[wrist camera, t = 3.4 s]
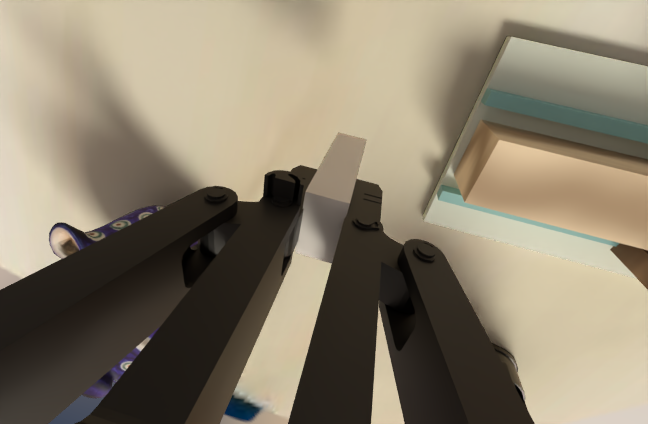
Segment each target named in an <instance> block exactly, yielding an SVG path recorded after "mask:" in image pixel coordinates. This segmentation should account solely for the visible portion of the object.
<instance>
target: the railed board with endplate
mask: <svg viewBox="0 0 648 424" xmlns="http://www.w3.org/2000/svg"><path fill="white" fill-rule="evenodd" d="M481 119H482V120H486V121H490V122H494V123H498V124H502V125H507V126H511V127H515V128H519V129H523V130H527V131H532V132H536V133H540V134H544V135H548V136H552V137H557V138H561V139H565V140H569V141H573V142H577V143H582V144H586V145H590V146H594V147H598V148H602V149H606V150H611V151H615V152H619V153H623V154H627V155H631V156H636V157H640V158H644V159H648V66H644V65H639V64H635V63H630V62H625V61H621V60H616V59H612V58H607V57H603V56H598V55H593V54H589V53H584V52H580V51H575V50H570V49H566V48H561V47H557V46H552V45H548V44H543V43H538V42H534V41H529V40H525V39H520V38H516V37H510V36H507V37H506V39H505V41H504V44H503V46H502V48H501V50H500V52H499V54H498V56H497V59H496V61H495V63H494V65H493V67H492V69H491V71H490V73H489V76H488V78H487V80H486V82H485V84H484V86H483V88H482V90H481V93H480V95H479V97H478V99H477V101H476V103H475V105H474V108H473V110H472V112H471V114H470V116H469V118H468V120H467V122H466V125H465V127H464V129H463V131H462V133H461V135H460V137H459V139H458V142H457V144H456V146H455V148H454V150H453V152H452V154H451V157H450V159H449V161H448V163H447V165H446V167H445V169H444V171H443V174H442V176H441V178H440V180H439V182H438V184H437V186H436V189H435V191H434V193H433V195H432V197H431V199H430V201H429V203H428V206H427V208H426V210H425V212H424V214H423V222H427V223H431V224H434V225H438V226H442V227H446V228H449V229H453V230H457V231H460V232H464V233H468V234H472V235H475V236H479V237H483V238H486V239H490V240H494V241H498V242H501V243H505V244H509V245H512V246H516V247H520V248H524V249H527V250H531V251H535V252H539V253H542V254H546V255H550V256H553V257H557V258H561V259H565V260H568V261H572V262H576V263H579V264H583V265H587V266H591V267H594V268H598V269H602V270H606V271H609V272H613V273H617V274H620V275H624V276H628V277H632V278H635V279H637V278H636V277H635V276H634V275H633V273H632V272H631V271H630V270H629V269H628V268H627V267H626V266H625V265H624V264H623V263H622V262H621V261H620V260H619V259H618V258H617V257H616V256H615V255H614V253H613V252H612V251H611V250H610V249H611V248H612V247H613V246H615V247H616V246H617V245H618V244H619V243H618V242H614V241H610V240H606V239H602V238H598V237H595V236H591V235H587V234H583V233H579V232H575V231H572V230H568V229H564V228H560V227H556V226H553V225H549V224H545V223H541V222H537V221H533V220H530V219H526V218H522V217H518V216H514V215H510V214H507V213H503V212H499V211H495V210H491V209H488V208H484V207H480V206H476V205H472V204H468V203H465V202H464V200H463V197H462V195H461V192H460V190H459V187H458V184H457V182H456V179H455V177H454V172H455V170H456V168H457V166H458V164H459V162H460V160H461V158H462V156H463V154H464V152H465V150H466V148H467V146H468V144H469V142H470V140H471V138H472V136H473V134H474V132H475V130H476V128H477V126H478V124H479V122H480V120H481Z"/></svg>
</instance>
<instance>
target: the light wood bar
mask: <svg viewBox="0 0 648 424" xmlns="http://www.w3.org/2000/svg"><path fill="white" fill-rule="evenodd" d="M454 177H455V179H456V182H457V184H458V187H459V190H460V192H461V195H462V197H463V200H464V202H465V203H468V204H472V205H476V206H480V207H484V208H488V209H491V210H495V211H499V212H503V213H507V214H510V215H514V216H518V217H522V218H526V219H530V220H533V221H537V222H541V223H545V224H549V225H553V226H556V227H560V228H564V229H568V230H572V231H575V232H579V233H583V234H587V235H591V236H595V237H598V238H602V239H606V240H610V241H614V242H618V243H621V244H625V245H629V246H633V247H637V248H641V249H644V250H648V159H644V158H640V157H636V156H631V155H627V154H623V153H619V152H615V151H611V150H606V149H602V148H598V147H594V146H590V145H586V144H582V143H577V142H573V141H569V140H565V139H561V138H557V137H552V136H548V135H544V134H540V133H536V132H532V131H527V130H523V129H519V128H515V127H511V126H507V125H502V124H498V123H494V122H490V121H486V120H482V119H481V120H480V122H479V124H478V126H477V128H476V130H475V132H474V134H473V136H472V138H471V140H470V142H469V144H468V146H467V148H466V150H465V152H464V154H463V156H462V158H461V160H460V162H459V164H458V166H457V168H456V170H455V172H454Z"/></svg>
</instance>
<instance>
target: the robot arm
mask: <svg viewBox="0 0 648 424" xmlns="http://www.w3.org/2000/svg"><path fill="white" fill-rule="evenodd" d="M365 144H366V139H362V138H358V137H354V136H350V135H346V134H342V133H338V134H337V136H336V138H335V139H334V141H333V143H332V145H331V147H330V148H329V150H328V152H327V154H326V156H325V157H324V159H323V161H322V163H321V165H320V166H319V168H318V170H317V169H313V168H309V167H305V166H301V165H300V166H298V167H296V168H293V169H292V170H291V172H289V171H283V170H279V171H272V172H268V173H267V174H265V179H264V193H263V197H262V198H261V200H260V201H259V202H243V201H238V196H237V194H236V192H234V191H233V190H231V189H229V188H226V187H221V186H220V187H219V186H213V187H206V188H203V189H200V190H198V191H196V192H194V193H192V194H190V195H188V196H186V197H185V198H183V199H181V200H179V201H177V202H175V203H173V204H171V205H169V206H167V207H165V208H163V209H161V210H159V211H157V212H155V213H153V214H151V215H149V216H147V217H145V218H143V219H141V220H139V221H137V222H135V223H133V224H131V225H129V226H127V227H125V228H123V229H121V230H119V231H117V232H115V233H113V234H111V235H109V236H107V237H105V238H103V239H101V240H99V241H97V242H95V243H93V244H91V245H89V246H87V247H85V248H83V249H81V250H79V251H77V252H75V253H73V254H71V255H69V256H67V257H65V258H63V259H61V260H59V261H57V262H55V263H53V264H51V265H49V266H47V267H45V268H43V269H41V270H39V271H37V272H35V273H33V274H31V275H29V276H27V277H25V278H23V279H21V280H19V281H18V282H16V283H14V284H11V285H9V286H7V287H5V288H3V289H1V290H0V424H48V423H50V422H51V421H52V420H53V419H54V418H55V417H56V416H58V415H59V414H60V413H61V412H62V411H63V410H65V409H66V408H67V407H68V406H69V405H70V404H71V403H72V402H74V401H75V400H76V399H77V398H78V397H79V396H81V395H82V394H83V393H84V392H85V391H86V390H88V389H89V388H90V387H91V386H92V385H93V384H94V383H96V382H97V381H98V380H99V379H100V378H101V377H103V376H104V375H105V374H106V373H107V372H108V371H109V370H111V369H112V368H113V367H114V366H115V365H116V364H117V363H119V362H120V361H121V360H122V359H123V358H124V357H126V356H127V355H128V354H129V353H130V352H131V351H132V350H134V349H135V348H136V347H137V346H138V345H139V344H141V343H142V342H143V341H144V340H145V339H146V338H147V337H149V336H150V335H151V334H152V333H153V332H154V331H155V330H157V329H158V328H159V327H160V328H159V329H158V330H157V331H156V333H155V334H154V335H153V337H152V338H151V339H150V340H149V342H148V343H147V344H146V345H145V347H144V348H143V349H142V350H141V352H140V353H139V354H138V356H137V357H136V358H135V359H134V361H133V362H132V363H131V364H130V366H129V367H128V368H127V369H126V371H125V372H124V373H123V375H122V376H121V377H120V378H119V380H118V381H117V382H116V383H115V385H114V386H113V387H112V388H111V390H110V391H109V392H108V394H107V395H106V396H105V397H104V399H103V400H102V401H101V402H100V404H99V405H98V406H97V407H96V408H95V409H94V411H93V412H92V413H91V414H90V415H89V416H87V417H86V418H85V419H83V420H82V421H81V422H78V423H75V424H220V422H221V419H222V417H223V415H224V413H225V410H226V408H227V406H228V404H229V401H230V399H231V397H232V395H233V392H234V390H235V388H236V386H237V383H238V381H239V379H240V377H241V374H242V372H243V370H244V367H245V365H246V363H247V361H248V358H249V356H250V354H251V352H252V349H253V347H254V345H255V343H256V340H257V338H258V336H259V334H260V331H261V329H262V327H263V325H264V322H265V320H266V318H267V316H268V313H269V311H270V309H271V307H272V304H273V302H274V300H275V298H276V295H277V293H278V291H279V289H280V286H281V284H282V282H283V280H284V277H285V275H286V273H287V271H288V268H289V266H290V264H291V260H292V254H293V251H294V249H295V246H296V250H295V253H297V254H301V255H304V256H308V257H311V258H315V259H318V260H322V261H325V262H329V263H332V265H331V269H330V273H329V276H328V280H327V284H326V287H325V291H324V295H323V298H322V302H321V305H320V309H319V313H318V316H317V320H316V324H315V327H314V331H313V335H312V338H311V342H310V345H309V349H308V353H307V356H306V360H305V364H304V367H303V371H302V375H301V378H300V382H299V385H298V389H297V393H296V396H295V400H294V404H293V407H292V411H291V415H290V418H289V422H288V424H371V414H372V398H373V382H374V367H375V351H376V335H377V320H378V304H379V308H380V313H381V317H382V322H383V327H384V331H385V336H386V340H387V345H388V349H389V354H390V358H391V363H392V367H393V372H394V377H395V381H396V386H397V390H398V395H399V399H400V404H401V408H402V413H403V417H404V422H405V424H534V422H533V420H532V418H531V416H530V414H529V412H528V410H527V409H526V407H525V405H524V403H523V401H522V399H521V397H520V396H519V394H518V392H517V390H516V388H515V386H514V384H513V382H512V381H511V379H510V377H509V375H508V373H507V371H506V369H505V368H504V366H503V364H502V362H501V360H500V358H499V356H498V354H497V353H496V351H495V349H494V347H493V345H492V343H491V341H490V340H489V338H488V336H487V334H486V332H485V330H484V328H483V326H482V325H481V323H480V321H479V319H478V317H477V315H476V313H475V312H474V310H473V308H472V306H471V304H470V302H469V300H468V298H467V297H466V295H465V293H464V291H463V289H462V287H461V285H460V284H459V282H458V280H457V278H456V276H455V274H454V272H453V270H452V269H451V267H450V265H449V263H448V261H447V259H446V257H445V256H444V254H443V253H442V252H441V250H439V249H438V248H437V247H436V246H434V245H433V244H431V243H429V242H426V241H423V240H419V239H411V240H409V241H406V242H405V244H404V245H402V244H400V243H398V242H396V241H394V240H392V239H391V238H389V237H388V236H387V235H386V234H385V233H384V232H383V226H382V224H381V222H380V217H381V205H382V190H381V188H380V187H379V185H377V184H373V183H369V182H366V181H362V180H358V179H356V178H357V175H358V171H359V167H360V163H361V159H362V155H363V152H364V148H365ZM197 241H198V243H197V244H196V245H194V246H192V247H190V246H191V245H192V244H194V243H195V242H197Z"/></svg>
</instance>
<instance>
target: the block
mask: <svg viewBox="0 0 648 424" xmlns="http://www.w3.org/2000/svg"><path fill="white" fill-rule="evenodd" d="M610 250H611V251H612V252H613V253H614V255H615V256H616V257H617V258H618V259H619V260H620V261H621V262H622V263H623V264H624V265H625V266H626V267H627V268H628V269H629V270H630V271H631V272H632V273H633V275H634V276H635V277H636V278H637V279H638V280H639V281H640V282H641V283H642V284H643V285H644V286H645V287H646V288H647V289H648V250H644V249H641V248H637V247H633V246H629V245H625V244H621V243H619V244H618V245H617V246H616V247H615V246H613V247H612V248H611V249H610Z"/></svg>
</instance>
